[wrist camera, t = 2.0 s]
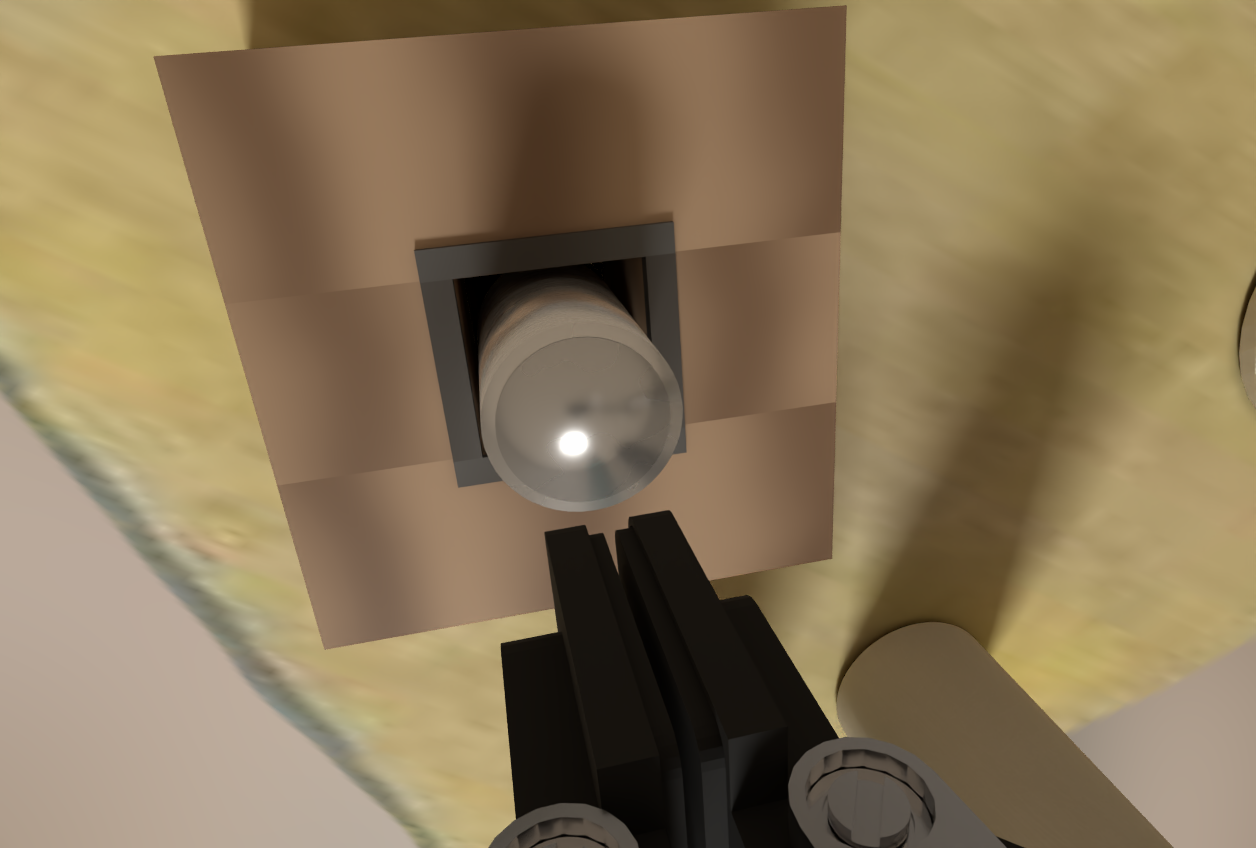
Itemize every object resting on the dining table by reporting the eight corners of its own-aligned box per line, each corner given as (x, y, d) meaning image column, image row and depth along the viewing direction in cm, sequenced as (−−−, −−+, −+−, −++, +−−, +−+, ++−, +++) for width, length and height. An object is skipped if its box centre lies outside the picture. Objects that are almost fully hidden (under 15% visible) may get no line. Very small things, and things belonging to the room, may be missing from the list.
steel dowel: (614, 249, 23) (678, 311, 16) (626, 386, 25) (688, 496, 18) (466, 266, 23) (465, 338, 16) (489, 406, 24) (497, 528, 17)
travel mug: (807, 676, 38) (1065, 1112, 21) (947, 589, 37) (1321, 964, 21) (871, 769, 41) (1137, 1209, 25) (1000, 690, 41) (1359, 1083, 24)
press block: (742, 33, 26) (850, 4, 19) (751, 458, 33) (834, 561, 25) (248, 72, 24) (150, 55, 17) (359, 519, 30) (323, 653, 23)
